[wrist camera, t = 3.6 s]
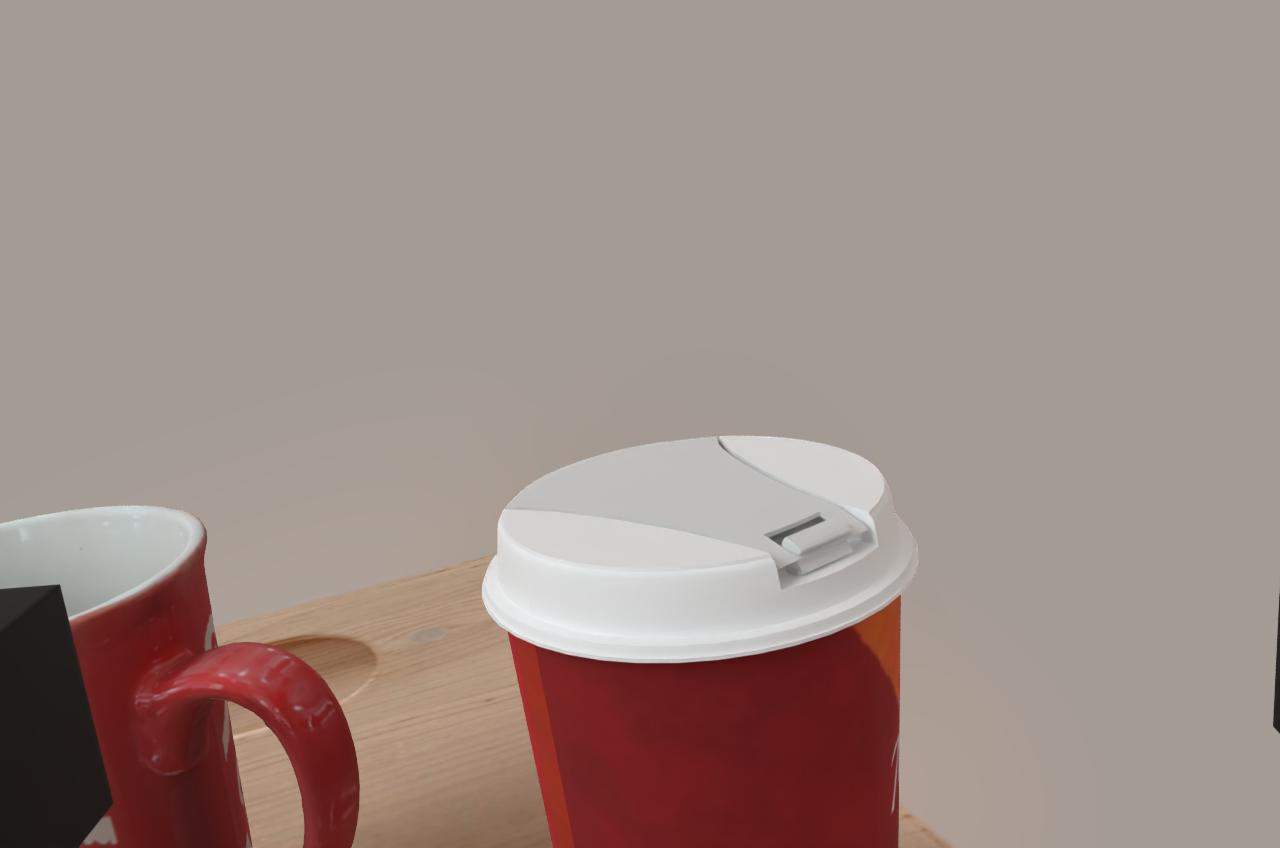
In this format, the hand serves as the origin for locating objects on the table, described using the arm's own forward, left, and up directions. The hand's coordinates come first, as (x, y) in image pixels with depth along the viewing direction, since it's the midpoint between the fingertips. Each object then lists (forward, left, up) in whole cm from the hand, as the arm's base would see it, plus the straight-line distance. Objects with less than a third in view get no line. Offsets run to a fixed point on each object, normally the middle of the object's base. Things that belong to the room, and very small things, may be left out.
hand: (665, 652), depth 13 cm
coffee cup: (+8, -6, -17) cm, 19 cm away
